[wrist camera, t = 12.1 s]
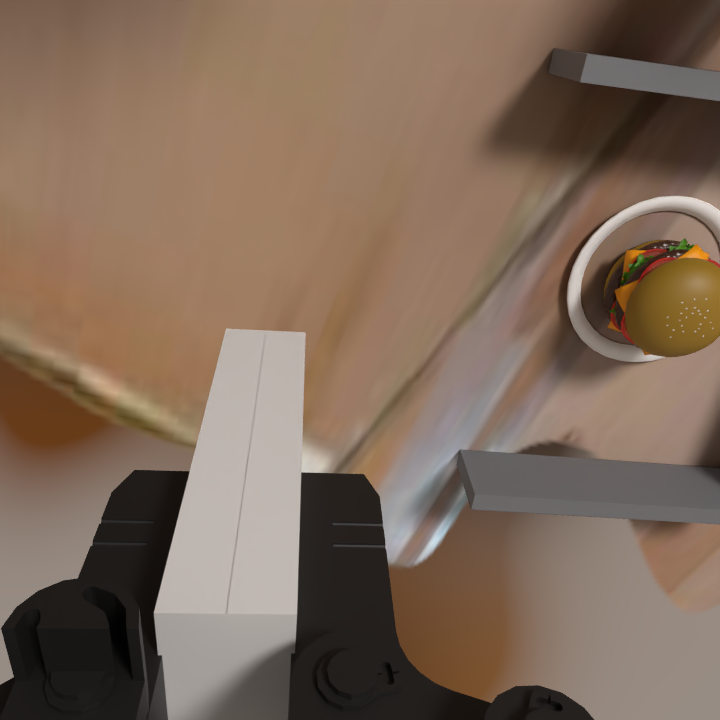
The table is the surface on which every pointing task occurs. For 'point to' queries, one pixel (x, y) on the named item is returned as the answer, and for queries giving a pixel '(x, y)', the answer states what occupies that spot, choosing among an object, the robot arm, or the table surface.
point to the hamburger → (654, 289)
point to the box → (594, 476)
